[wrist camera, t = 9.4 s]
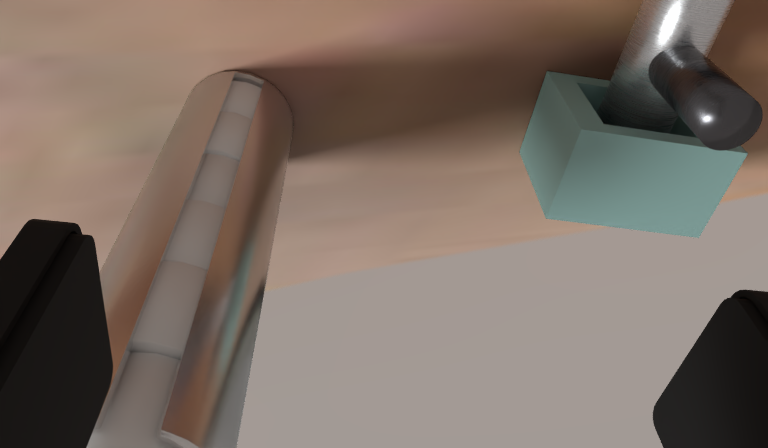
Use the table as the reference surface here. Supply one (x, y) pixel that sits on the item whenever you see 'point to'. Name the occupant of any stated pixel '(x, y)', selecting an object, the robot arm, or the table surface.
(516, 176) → the table surface
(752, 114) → the slip tube
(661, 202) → the socket block
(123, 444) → the grey cylinder
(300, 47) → the table surface
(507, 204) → the table surface
